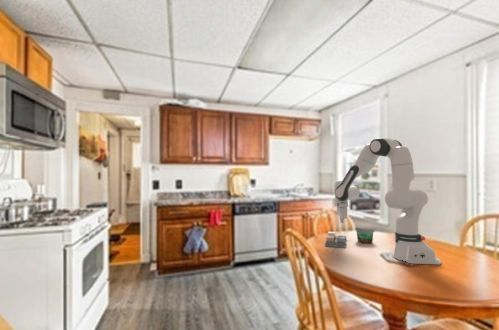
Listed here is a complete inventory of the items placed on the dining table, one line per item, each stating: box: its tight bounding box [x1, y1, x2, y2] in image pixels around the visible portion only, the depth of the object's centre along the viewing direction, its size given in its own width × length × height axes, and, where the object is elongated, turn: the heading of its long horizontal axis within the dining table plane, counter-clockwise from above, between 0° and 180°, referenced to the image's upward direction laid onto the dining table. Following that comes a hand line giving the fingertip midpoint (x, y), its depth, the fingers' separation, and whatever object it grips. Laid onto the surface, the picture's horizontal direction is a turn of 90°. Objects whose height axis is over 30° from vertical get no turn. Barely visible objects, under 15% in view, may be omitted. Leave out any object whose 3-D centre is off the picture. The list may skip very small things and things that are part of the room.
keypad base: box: [325, 234, 348, 249], centre depth 187 cm, size 13×28×2 cm, turn 160°
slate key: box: [338, 237, 345, 243], centre depth 179 cm, size 4×4×3 cm
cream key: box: [327, 231, 336, 237], centre depth 195 cm, size 4×4×3 cm
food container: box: [355, 227, 375, 245], centre depth 185 cm, size 12×6×10 cm, turn 73°
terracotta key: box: [326, 236, 334, 242], centre depth 182 cm, size 4×4×3 cm
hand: (341, 222), depth 192 cm, fingers closed
